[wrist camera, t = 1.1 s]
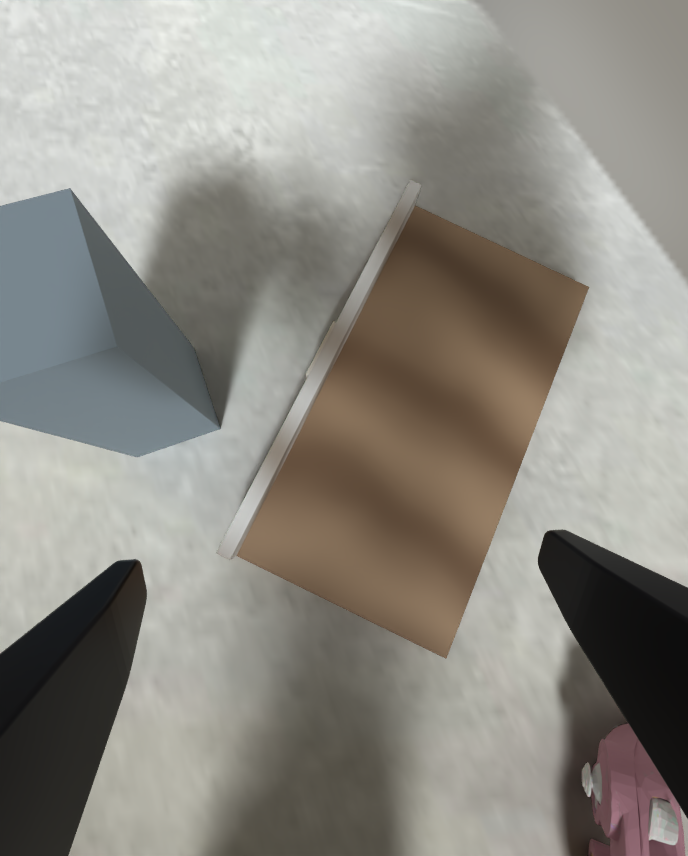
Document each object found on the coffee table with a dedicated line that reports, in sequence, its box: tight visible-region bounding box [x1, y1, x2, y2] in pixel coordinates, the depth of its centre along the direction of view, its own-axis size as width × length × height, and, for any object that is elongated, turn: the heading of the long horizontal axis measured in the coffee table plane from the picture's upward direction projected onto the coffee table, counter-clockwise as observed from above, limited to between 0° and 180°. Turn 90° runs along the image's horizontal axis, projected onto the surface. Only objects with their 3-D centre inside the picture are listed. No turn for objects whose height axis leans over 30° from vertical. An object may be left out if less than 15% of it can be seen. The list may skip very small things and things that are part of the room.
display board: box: [216, 180, 589, 658], centre depth 22 cm, size 22×12×3 cm, turn 155°
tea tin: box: [0, 188, 220, 457], centre depth 17 cm, size 5×5×12 cm
